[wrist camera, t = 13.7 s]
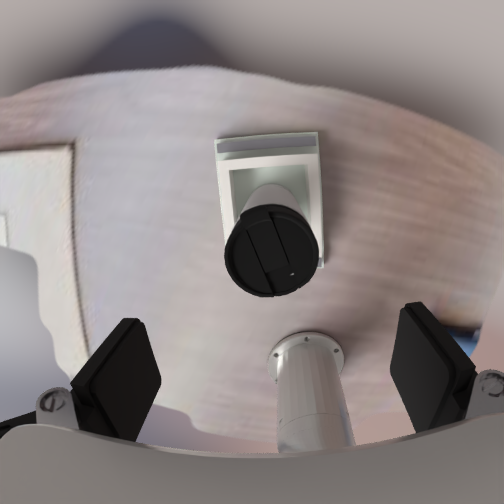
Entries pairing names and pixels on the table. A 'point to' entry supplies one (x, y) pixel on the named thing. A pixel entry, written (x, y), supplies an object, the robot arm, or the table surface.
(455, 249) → the table surface
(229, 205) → the white rectangular tray
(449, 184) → the table surface
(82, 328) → the table surface
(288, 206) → the travel mug
